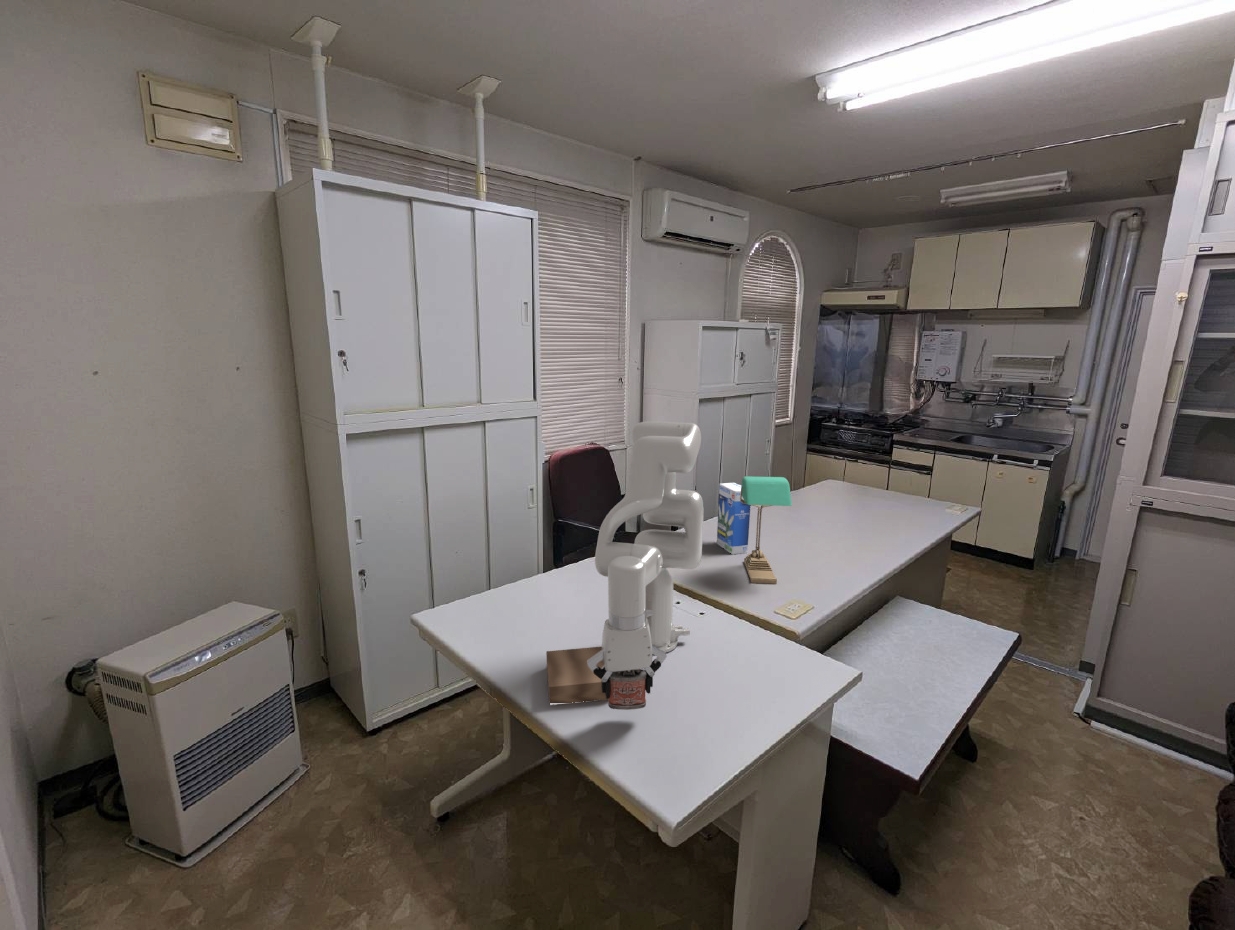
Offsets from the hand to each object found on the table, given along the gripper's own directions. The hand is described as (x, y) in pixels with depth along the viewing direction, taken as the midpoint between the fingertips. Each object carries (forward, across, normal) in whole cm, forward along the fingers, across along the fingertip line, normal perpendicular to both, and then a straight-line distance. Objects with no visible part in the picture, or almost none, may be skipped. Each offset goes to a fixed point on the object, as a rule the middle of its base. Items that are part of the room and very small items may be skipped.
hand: (627, 691), depth 114 cm
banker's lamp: (+10, -62, -70) cm, 94 cm away
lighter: (+3, 0, 0) cm, 3 cm away
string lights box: (+11, -62, -96) cm, 115 cm away
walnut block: (+7, +8, -15) cm, 19 cm away
